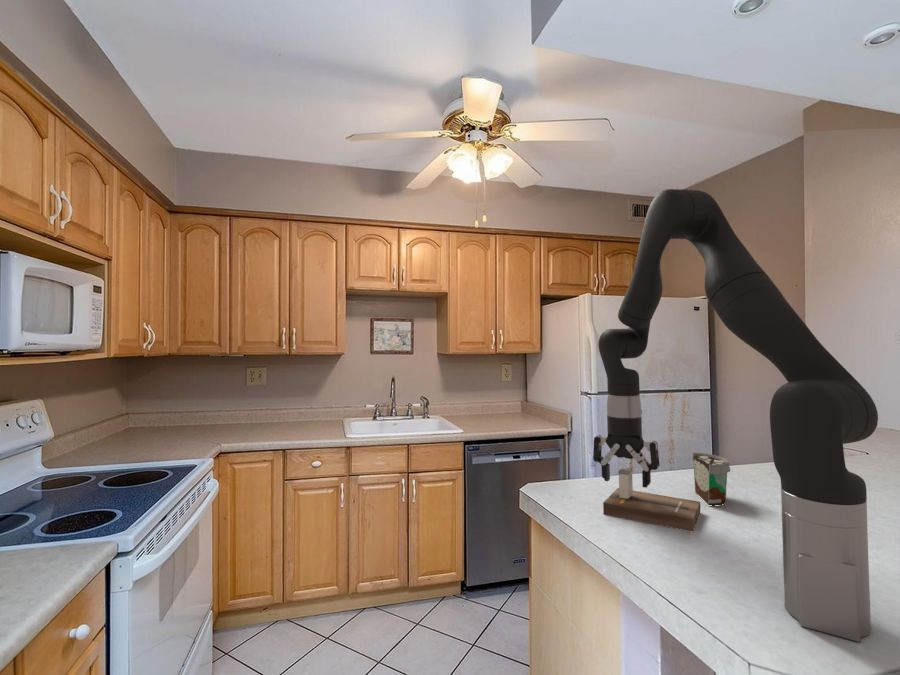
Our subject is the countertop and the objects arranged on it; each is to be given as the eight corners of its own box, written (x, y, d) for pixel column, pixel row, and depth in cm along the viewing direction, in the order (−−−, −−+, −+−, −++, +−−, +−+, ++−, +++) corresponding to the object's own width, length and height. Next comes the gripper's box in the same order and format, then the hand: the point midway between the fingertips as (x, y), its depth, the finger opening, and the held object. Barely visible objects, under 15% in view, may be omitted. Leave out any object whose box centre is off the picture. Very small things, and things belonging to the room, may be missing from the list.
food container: (740, 510, 101) (739, 466, 101) (711, 508, 102) (709, 465, 103) (719, 492, 113) (718, 452, 113) (693, 491, 114) (692, 452, 115)
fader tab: (628, 499, 101) (627, 472, 101) (619, 497, 103) (618, 471, 103) (633, 493, 105) (632, 468, 105) (623, 492, 106) (623, 467, 106)
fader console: (693, 532, 90) (692, 519, 90) (603, 513, 101) (603, 502, 101) (700, 512, 100) (700, 501, 100) (618, 498, 111) (617, 487, 111)
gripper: (588, 413, 105) (590, 482, 105) (653, 418, 97) (655, 493, 96) (598, 409, 111) (600, 474, 111) (660, 413, 103) (662, 484, 103)
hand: (625, 483), depth 104 cm, fingers open, 8 cm apart
